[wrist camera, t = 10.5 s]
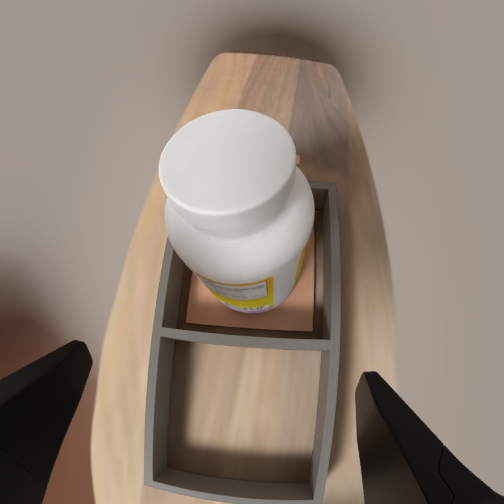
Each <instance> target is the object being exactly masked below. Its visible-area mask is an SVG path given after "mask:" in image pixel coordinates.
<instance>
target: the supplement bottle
mask: <svg viewBox="0 0 504 504" xmlns="http://www.w3.org/2000/svg"><path fill="white" fill-rule="evenodd" d="M159 178H160V182H161V185H162V187H163V190H164V191H165V193H166V195H167V200H166V204H165V214H164V219H165V228H166V232H167V235H168V238H169V241H170V243H171V245H172V247H173V248H174V250H175V251H176V253H177V254H178V256H179V257H180V258H181V259H182V260H183V262H184V263H185V264H186V265H187V266H188V267H189V268H190V270H191V271H192V272H193V273H194V274H195V275H196V276H197V277H198V278H199V280H200V281H201V282H202V283H203V284H204V285H205V286H206V287H207V288H208V289H209V290H210V292H211V293H212V294H213V295H214V296H215V297H216V298H217V299H218V300H219V301H220V302H222V303H223V304H224V305H226V306H228V307H229V308H231V309H234V310H236V311H239V312H244V313H260V312H265V311H268V310H271V309H273V308H275V307H277V306H278V305H280V304H281V303H282V302H284V301H285V300H286V299H287V298H288V297H289V295H290V294H291V293H292V291H293V289H294V288H295V286H296V283H297V281H298V278H299V274H300V271H301V267H302V263H303V260H304V256H305V252H306V249H307V245H308V241H309V238H310V234H311V231H312V226H313V221H314V212H315V210H314V199H313V194H312V191H311V188H310V185H309V183H308V181H307V179H306V177H305V176H304V174H303V173H302V171H301V170H300V169H299V168H298V167H297V166H296V149H295V145H294V142H293V140H292V138H291V136H290V134H289V133H288V131H287V130H286V129H285V128H284V127H283V126H282V125H281V124H280V123H278V122H277V121H276V120H274V119H272V118H270V117H269V116H266V115H264V114H261V113H258V112H255V111H250V110H243V109H228V110H221V111H216V112H212V113H208V114H205V115H203V116H200V117H198V118H196V119H194V120H192V121H190V122H189V123H187V124H186V125H184V126H183V127H182V128H180V129H179V130H178V131H177V132H176V133H175V134H174V135H173V136H172V138H171V139H170V140H169V142H168V143H167V144H166V146H165V148H164V150H163V152H162V154H161V158H160V162H159Z"/></svg>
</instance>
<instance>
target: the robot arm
mask: <svg viewBox="0 0 504 504" xmlns="http://www.w3.org/2000/svg"><path fill="white" fill-rule="evenodd" d="M92 363H93V360H92V357H91V355H90V353H89V350H88V348H87V345H86V344H85V343H84V342H82V341H78V340H73V341H71V342H70V343H68V344H66V345H64V346H62V347H60V348H58V349H56V350H55V351H53V352H51V353H49V354H47V355H45V356H43V357H41V358H39V359H38V360H36V361H34V362H32V363H30V364H28V365H26V366H25V367H23V368H21V369H19V370H17V371H15V372H13V373H11V374H10V375H8V376H6V377H4V378H2V379H1V380H0V504H42V502H43V499H44V496H45V492H46V489H47V485H48V483H49V479H50V476H51V473H52V471H53V468H54V464H55V462H56V459H57V456H58V454H59V451H60V448H61V445H62V443H63V440H64V438H65V435H66V433H67V430H68V428H69V426H70V423H71V421H72V418H73V416H74V413H75V411H76V409H77V407H78V404H79V402H80V399H81V397H82V394H83V391H84V388H85V385H86V382H87V379H88V376H89V373H90V370H91V367H92ZM355 402H356V429H357V443H358V450H359V457H360V465H361V473H362V482H363V491H364V501H365V504H504V496H501V495H500V494H498V493H496V492H494V491H493V490H492V489H491V488H490V487H489V486H487V485H486V484H485V483H484V482H483V481H481V480H480V479H479V478H478V477H477V476H475V475H474V474H473V473H472V472H471V471H470V470H469V469H468V468H466V467H465V466H464V465H463V464H462V463H461V462H460V461H459V460H458V459H457V458H456V457H455V456H454V455H453V454H452V453H451V452H450V451H449V449H448V448H447V447H446V446H443V443H442V442H441V441H440V440H439V439H438V438H437V436H436V435H435V434H434V433H433V432H432V431H431V430H430V429H429V428H428V427H427V426H426V424H424V422H423V421H422V420H421V419H420V418H419V417H418V416H417V415H416V414H415V413H414V411H413V410H412V409H411V408H410V407H409V406H408V405H407V404H406V403H405V402H404V401H403V400H402V399H401V398H400V396H399V395H398V394H397V393H396V392H395V391H394V390H393V389H392V388H391V387H390V386H389V385H388V383H387V382H386V381H385V380H384V379H383V378H382V377H381V376H380V375H379V374H378V373H377V372H375V371H370V372H363V373H362V375H361V378H360V380H359V383H358V385H357V388H356V391H355Z"/></svg>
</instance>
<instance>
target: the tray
mask: <svg viewBox="0 0 504 504" xmlns="http://www.w3.org/2000/svg"><path fill="white" fill-rule="evenodd" d="M296 166H297V167H298V168H299V166H300V155H296ZM308 183H309V185H310V188H311V191H312V194H313V199H314V209H322V215H323V260H324V285H323V329H322V340H315V339H285V338H266V337H251V336H238V335H226V334H216V333H206V332H197V331H188V330H180V329H177V321H178V312H179V304H180V297H181V290H182V282H183V276H184V269H185V263H184V262H183V260H182V259H181V258H180V257H179V256H178V254H177V253H176V251H175V250H174V248H173V247H172V245H171V243H170V241H169V238H168V237H167V242H166V248H165V253H164V258H163V264H162V270H161V276H160V282H159V288H158V295H157V301H156V308H155V316H154V323H153V331H152V340H151V349H150V359H149V370H148V382H147V396H146V413H145V442H144V479H145V485H146V486H150V487H153V488H157V489H160V490H164V491H168V492H172V493H176V494H181V495H185V496H190V497H195V498H200V499H206V500H212V501H218V502H225V503H233V504H322V500H323V495H324V490H325V484H326V478H327V472H328V466H329V459H330V452H331V445H332V437H333V429H334V420H335V410H336V399H337V387H338V372H339V354H340V326H341V266H340V238H339V219H338V204H337V191H336V183H328V182H314V181H308ZM313 308H314V221H313V226H312V231H311V234H310V238H309V241H308V245H307V249H306V252H305V256H304V260H303V263H302V267H301V271H300V274H299V278H298V281H297V283H296V286H295V288H294V289H293V291H292V293H291V294H290V295H289V297H288V298H287V299H286V300H285V301H284V302H282V303H281V304H280V305H278V306H277V307H275V308H273V309H271V310H268V311H265V312H260V313H244V312H239V311H236V310H234V309H231V308H229V307H228V306H226V305H224V304H223V303H222V302H220V301H219V300H218V299H217V298H216V297H215V296H214V295H213V294H212V293H211V292H210V290H209V289H208V288H207V287H206V286H205V285H204V284H203V283H202V282H201V281H200V280H199V278H198V277H197V276H196V275H195V274H194V273H193V272H192V277H191V285H190V292H189V300H188V308H187V316H186V323H193V324H202V325H212V326H223V327H235V328H248V329H263V330H281V331H307V332H312V331H313ZM175 340H182V341H190V342H198V343H207V344H216V345H226V346H237V347H250V348H264V349H283V350H313V351H322V352H321V369H320V383H319V396H318V407H317V418H316V427H315V436H314V445H313V453H312V460H311V467H310V474H309V481H308V483H275V482H257V481H245V480H235V479H227V478H219V477H213V476H206V475H201V474H195V473H190V472H185V471H180V470H176V469H172V468H167V449H168V425H169V407H170V393H171V380H172V368H173V357H174V347H175Z"/></svg>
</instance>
